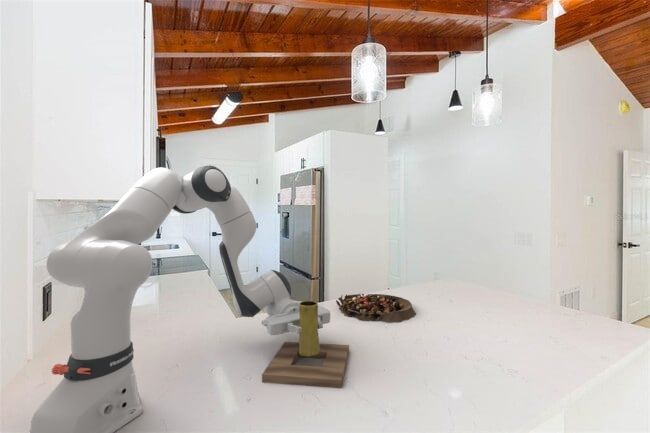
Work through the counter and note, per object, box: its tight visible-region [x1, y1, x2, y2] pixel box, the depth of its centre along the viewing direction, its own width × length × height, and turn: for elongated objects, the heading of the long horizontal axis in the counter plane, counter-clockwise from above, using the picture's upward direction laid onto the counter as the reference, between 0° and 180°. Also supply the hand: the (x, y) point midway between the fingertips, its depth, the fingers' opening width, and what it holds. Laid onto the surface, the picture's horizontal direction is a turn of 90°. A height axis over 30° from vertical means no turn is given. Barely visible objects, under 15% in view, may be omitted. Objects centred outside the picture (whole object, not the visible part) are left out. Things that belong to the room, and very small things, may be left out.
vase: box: [298, 300, 320, 356], centre depth 93 cm, size 6×6×14 cm
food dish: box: [335, 293, 417, 324], centre depth 142 cm, size 35×33×8 cm
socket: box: [261, 341, 350, 389], centre depth 93 cm, size 21×21×2 cm
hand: (310, 328), depth 92 cm, fingers closed on vase, 5 cm apart
